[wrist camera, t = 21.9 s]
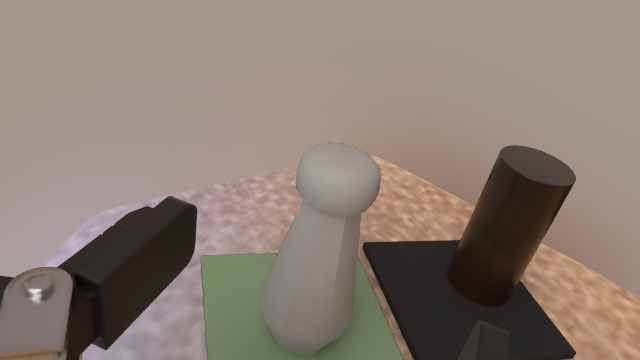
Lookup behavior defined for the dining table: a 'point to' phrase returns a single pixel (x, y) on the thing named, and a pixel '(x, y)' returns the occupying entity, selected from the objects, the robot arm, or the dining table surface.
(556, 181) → the dark brown cylinder
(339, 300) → the salt shaker
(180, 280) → the dining table surface
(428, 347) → the dark mat
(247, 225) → the dining table surface
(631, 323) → the dining table surface
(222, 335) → the sage mat
